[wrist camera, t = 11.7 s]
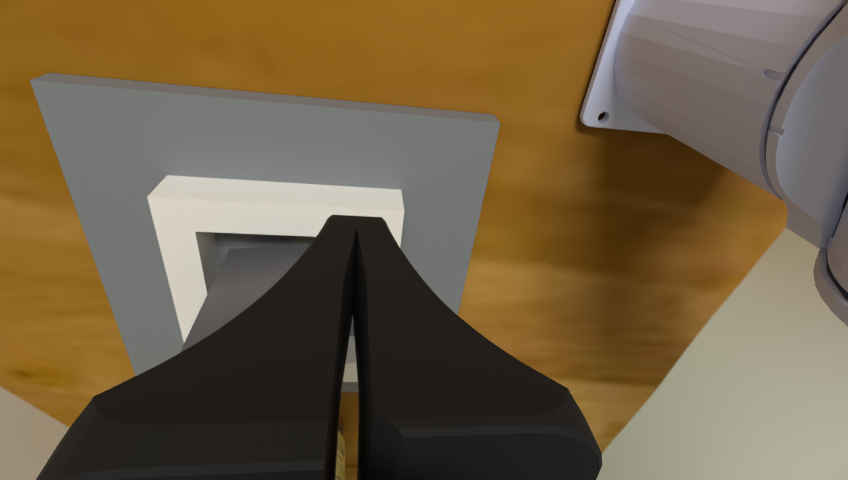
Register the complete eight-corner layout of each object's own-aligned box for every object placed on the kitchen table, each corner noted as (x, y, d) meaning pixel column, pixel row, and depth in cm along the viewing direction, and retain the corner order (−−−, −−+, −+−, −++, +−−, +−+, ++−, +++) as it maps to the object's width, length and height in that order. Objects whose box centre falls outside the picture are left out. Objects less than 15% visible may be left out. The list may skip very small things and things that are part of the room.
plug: (330, 228, 20) (316, 339, 14) (342, 312, 23) (334, 433, 17) (236, 234, 20) (180, 351, 14) (260, 318, 23) (223, 444, 17)
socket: (493, 114, 19) (513, 138, 17) (438, 376, 29) (445, 417, 26) (49, 72, 17) (-11, 94, 14) (151, 379, 26) (127, 426, 23)
